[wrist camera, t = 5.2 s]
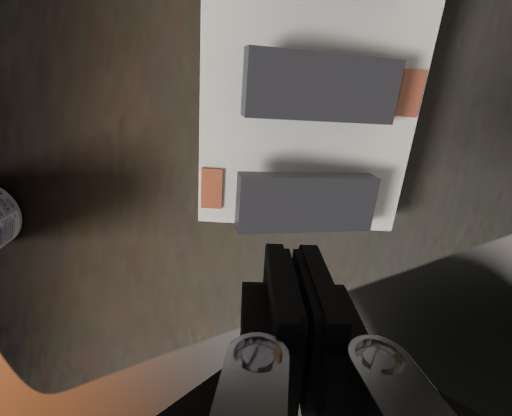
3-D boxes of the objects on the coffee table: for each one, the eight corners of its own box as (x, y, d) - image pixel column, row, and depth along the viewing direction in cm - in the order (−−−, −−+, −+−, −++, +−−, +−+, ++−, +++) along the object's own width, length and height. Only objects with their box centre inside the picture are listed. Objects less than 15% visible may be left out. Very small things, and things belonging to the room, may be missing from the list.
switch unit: (209, -162, 19) (201, -214, 16) (451, -134, 20) (494, -178, 17) (202, 205, 27) (196, 225, 24) (376, 215, 28) (395, 235, 24)
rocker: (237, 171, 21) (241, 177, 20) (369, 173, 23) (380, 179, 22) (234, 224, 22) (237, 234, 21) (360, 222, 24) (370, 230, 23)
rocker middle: (244, 46, 19) (249, 44, 17) (392, 60, 21) (406, 59, 19) (240, 114, 20) (244, 117, 19) (380, 121, 22) (392, 124, 21)
